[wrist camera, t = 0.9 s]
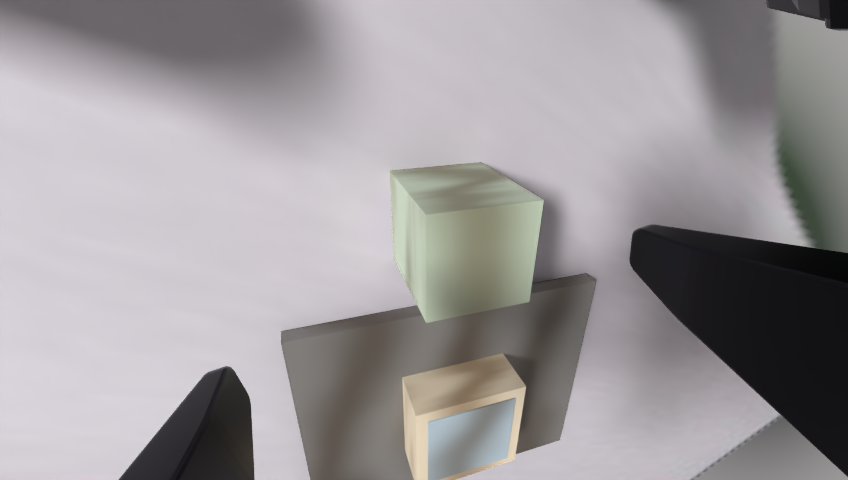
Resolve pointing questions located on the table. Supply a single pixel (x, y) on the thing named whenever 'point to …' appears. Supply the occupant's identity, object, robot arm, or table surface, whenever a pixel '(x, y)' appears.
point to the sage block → (463, 238)
